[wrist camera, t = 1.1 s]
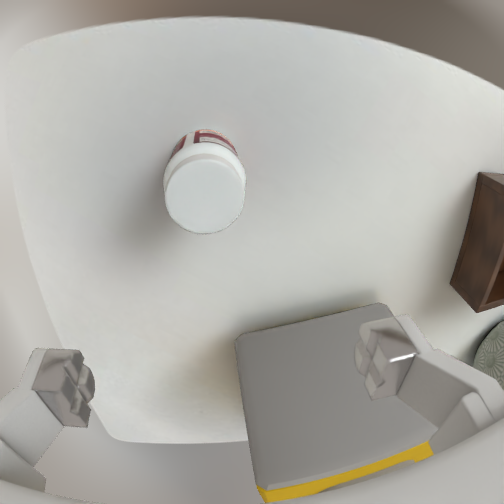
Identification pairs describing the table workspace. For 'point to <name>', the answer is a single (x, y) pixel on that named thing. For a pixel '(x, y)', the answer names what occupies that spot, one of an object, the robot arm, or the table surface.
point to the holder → (483, 247)
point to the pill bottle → (204, 182)
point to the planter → (492, 355)
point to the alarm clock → (321, 409)
